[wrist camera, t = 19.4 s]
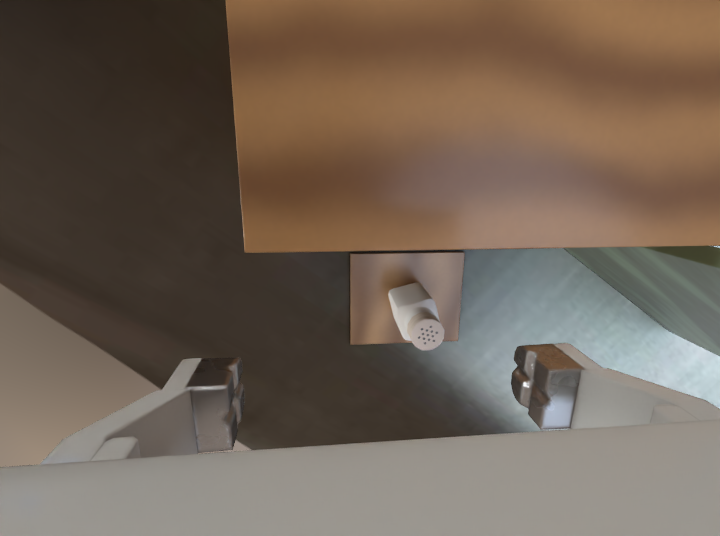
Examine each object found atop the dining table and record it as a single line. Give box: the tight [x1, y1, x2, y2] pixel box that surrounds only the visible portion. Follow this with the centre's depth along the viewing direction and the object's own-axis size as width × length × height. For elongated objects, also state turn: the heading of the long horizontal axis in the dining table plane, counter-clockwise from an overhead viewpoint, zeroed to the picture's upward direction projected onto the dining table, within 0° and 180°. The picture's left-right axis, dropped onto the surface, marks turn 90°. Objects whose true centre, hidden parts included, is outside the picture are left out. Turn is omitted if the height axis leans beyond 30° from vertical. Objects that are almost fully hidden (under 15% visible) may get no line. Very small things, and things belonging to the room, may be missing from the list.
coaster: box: [350, 251, 465, 345], centre depth 45 cm, size 13×11×1 cm
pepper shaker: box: [388, 282, 444, 350], centre depth 40 cm, size 4×4×10 cm
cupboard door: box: [564, 246, 720, 356], centre depth 35 cm, size 6×26×23 cm, turn 54°
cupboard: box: [226, 0, 720, 253], centre depth 29 cm, size 18×26×23 cm
